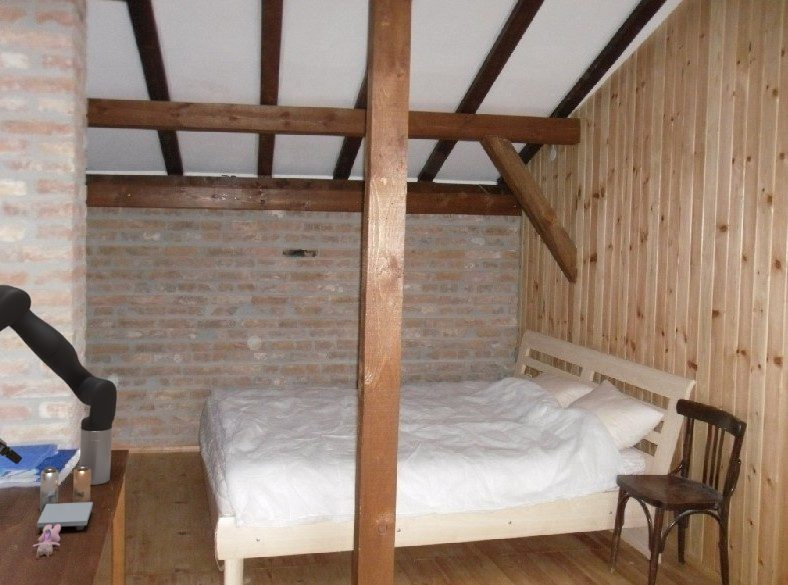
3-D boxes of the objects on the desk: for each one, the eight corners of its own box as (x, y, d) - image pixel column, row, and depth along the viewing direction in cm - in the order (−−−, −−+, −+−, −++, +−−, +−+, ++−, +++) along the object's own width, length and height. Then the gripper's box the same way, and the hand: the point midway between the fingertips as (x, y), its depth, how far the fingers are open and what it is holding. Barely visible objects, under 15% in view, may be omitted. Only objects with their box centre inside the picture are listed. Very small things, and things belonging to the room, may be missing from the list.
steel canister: (37, 508, 206) (38, 467, 205) (53, 505, 209) (55, 464, 209) (42, 513, 203) (44, 471, 202) (59, 510, 206) (61, 469, 205)
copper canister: (69, 506, 210) (71, 465, 209) (85, 502, 213) (87, 462, 212) (76, 510, 206) (77, 469, 206) (92, 507, 210) (93, 467, 209)
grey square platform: (46, 515, 202) (46, 503, 202) (92, 513, 205) (92, 502, 205) (36, 534, 188) (37, 522, 188) (86, 532, 192) (86, 520, 192)
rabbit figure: (56, 563, 176) (67, 530, 190) (56, 541, 175) (67, 509, 189) (28, 565, 174) (41, 531, 188) (28, 543, 173) (41, 510, 187)
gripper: (-20, 414, 189) (31, 451, 195) (-24, 410, 201) (24, 445, 207) (-42, 438, 186) (10, 474, 192) (-46, 432, 198) (4, 467, 204)
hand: (17, 459), depth 200 cm, fingers open, 8 cm apart
